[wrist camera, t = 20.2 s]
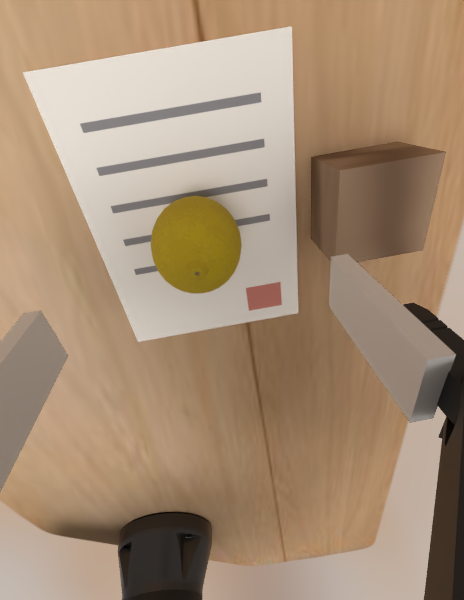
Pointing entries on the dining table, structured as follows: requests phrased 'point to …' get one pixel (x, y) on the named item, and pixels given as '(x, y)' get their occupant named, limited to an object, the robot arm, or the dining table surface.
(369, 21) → the dining table surface
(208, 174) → the letter
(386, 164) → the walnut block
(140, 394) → the dining table surface
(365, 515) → the dining table surface
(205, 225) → the lemon
